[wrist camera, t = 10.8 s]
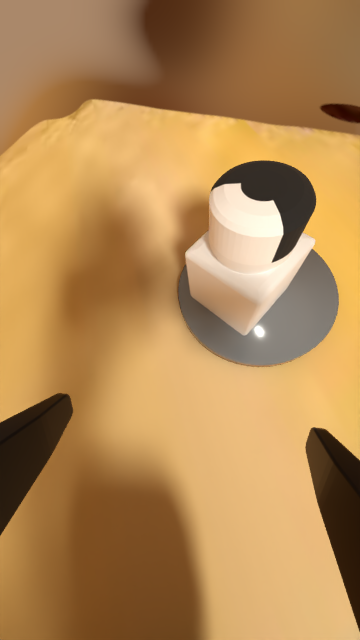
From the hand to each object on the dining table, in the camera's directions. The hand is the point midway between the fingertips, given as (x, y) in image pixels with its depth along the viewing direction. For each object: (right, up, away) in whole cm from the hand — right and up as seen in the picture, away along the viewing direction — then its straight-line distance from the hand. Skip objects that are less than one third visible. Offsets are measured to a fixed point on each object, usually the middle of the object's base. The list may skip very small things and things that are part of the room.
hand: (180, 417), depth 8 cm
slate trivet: (+8, +6, +17) cm, 20 cm away
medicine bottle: (+6, +6, +15) cm, 18 cm away
